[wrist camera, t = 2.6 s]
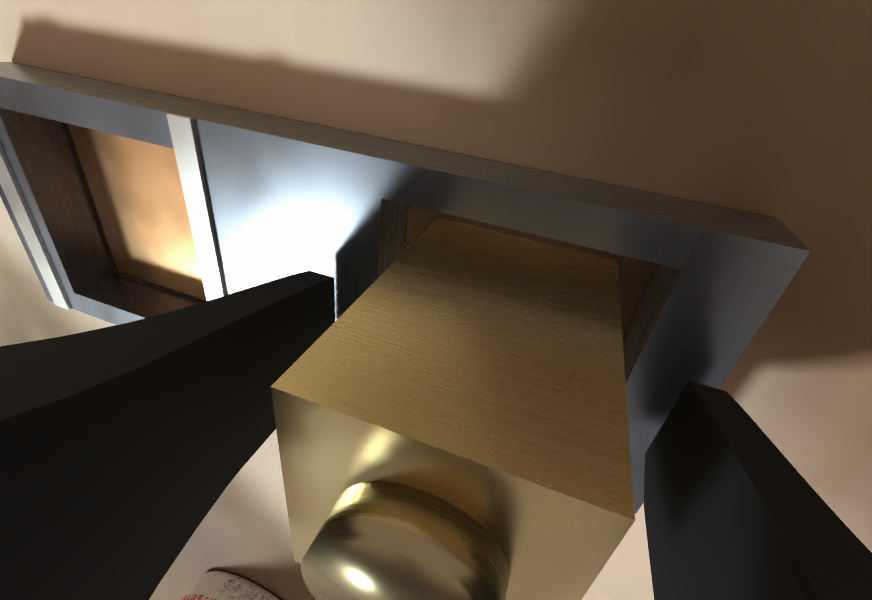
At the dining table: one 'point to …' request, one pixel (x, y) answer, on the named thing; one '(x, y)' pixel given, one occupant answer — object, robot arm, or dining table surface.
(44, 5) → the dining table surface
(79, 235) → the plate with square holes
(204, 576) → the teacup with lid
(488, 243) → the cube with round knob
